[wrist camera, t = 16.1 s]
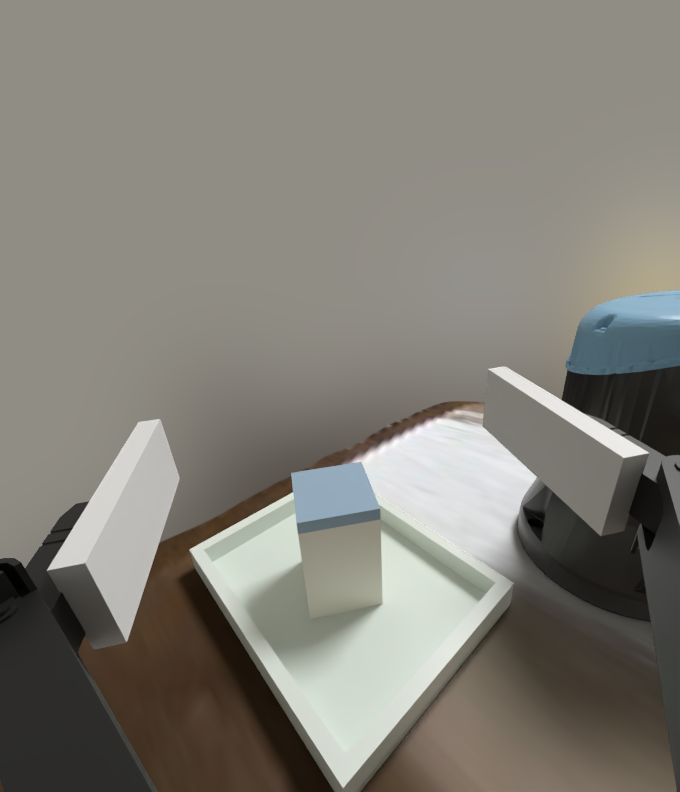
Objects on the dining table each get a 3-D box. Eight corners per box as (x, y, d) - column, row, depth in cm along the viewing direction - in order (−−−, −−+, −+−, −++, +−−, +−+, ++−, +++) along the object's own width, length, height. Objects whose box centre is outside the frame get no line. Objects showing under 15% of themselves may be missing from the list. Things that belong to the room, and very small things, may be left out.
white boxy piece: (365, 548, 37) (361, 461, 32) (382, 603, 31) (380, 508, 27) (303, 560, 36) (291, 473, 32) (310, 619, 30) (296, 523, 26)
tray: (337, 485, 47) (336, 468, 46) (510, 604, 31) (514, 583, 30) (195, 568, 36) (189, 549, 35) (345, 810, 21) (343, 788, 20)
